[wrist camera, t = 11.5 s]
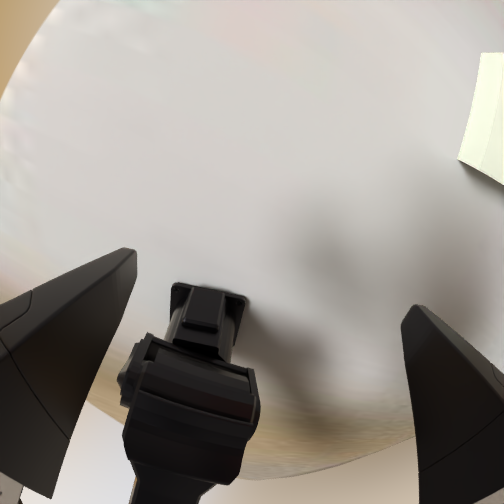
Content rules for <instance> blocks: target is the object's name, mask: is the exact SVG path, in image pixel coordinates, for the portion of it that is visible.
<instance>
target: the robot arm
mask: <svg viewBox="0 0 504 504" xmlns="http://www.w3.org/2000/svg"><path fill="white" fill-rule="evenodd" d="M136 278H137V252H136V251H135V250H134V249H129V248H125V247H124V248H121V249H118V250H116V251H114V252H111V253H109V254H107V255H105V256H102V257H100V258H98V259H96V260H93V261H91V262H89V263H87V264H85V265H82V266H80V267H78V268H76V269H74V270H71V271H69V272H67V273H65V274H63V275H61V276H59V277H57V278H54V279H52V280H50V281H48V282H46V283H44V284H42V285H40V286H38V287H36V288H34V289H33V291H32V290H30V291H28V292H26V293H24V294H22V295H20V296H18V297H16V298H13V299H11V300H9V301H7V302H5V303H3V304H1V305H0V504H23V503H22V501H21V499H20V496H21V493H22V490H23V487H24V486H25V487H27V488H29V489H31V490H33V491H35V492H37V493H39V494H41V495H43V496H45V497H47V498H49V499H52V496H53V493H54V489H55V486H56V482H57V479H58V476H59V473H60V469H61V466H62V463H63V460H64V457H65V454H66V451H67V448H68V445H69V443H70V439H71V436H72V434H73V431H74V428H75V426H76V423H77V420H78V418H79V415H80V413H81V410H82V407H83V405H84V402H85V400H86V398H87V395H88V393H89V390H90V388H91V386H92V383H93V381H94V379H95V376H96V374H97V372H98V369H99V367H100V365H101V363H102V360H103V358H104V356H105V354H106V352H107V349H108V347H109V345H110V343H111V341H112V339H113V337H114V335H115V333H116V330H117V328H118V326H119V324H120V322H121V319H122V317H123V314H124V311H125V308H126V306H127V303H128V300H129V298H130V295H131V292H132V289H133V287H134V284H135V282H136ZM176 288H178V289H179V290H178V289H176ZM238 301H241V302H238ZM244 307H245V298H244V297H243V296H240V295H234V294H229V293H224V292H219V291H215V290H210V289H205V288H200V287H195V286H191V285H186V284H182V283H174V284H173V285H172V287H171V301H170V324H169V326H168V329H167V332H166V335H165V338H164V340H162V339H160V338H157V337H154V335H153V334H150V333H148V332H147V334H146V336H145V338H144V339H141V341H140V343H135V345H134V347H133V350H132V352H131V354H130V357H129V359H128V360H127V362H126V363H125V365H124V366H123V368H122V369H121V371H120V372H119V374H118V377H117V382H118V384H119V386H120V388H121V392H120V395H121V396H122V397H121V401H120V405H121V406H124V407H126V408H128V409H129V412H128V415H127V419H126V422H125V426H124V429H123V433H122V438H123V441H124V448H125V452H126V455H127V458H128V460H130V462H131V465H132V467H133V470H134V472H135V475H136V477H135V481H134V485H133V489H132V492H131V496H130V500H129V504H198V503H199V500H200V498H201V496H202V495H203V494H205V493H206V492H207V491H209V489H211V488H213V487H214V486H215V485H216V484H221V485H230V484H231V483H232V481H233V480H234V479H235V478H236V477H237V476H238V475H239V472H240V468H241V463H242V458H243V454H244V450H245V447H246V444H247V441H249V440H250V439H251V437H252V436H253V434H254V432H255V430H256V428H257V425H258V421H259V417H260V407H261V406H260V399H259V394H258V389H257V383H256V378H255V373H254V369H251V368H248V367H247V368H244V367H240V366H237V365H234V364H231V363H230V362H231V354H232V347H233V346H234V345H235V341H236V337H237V333H238V330H239V326H240V322H241V318H242V314H243V311H244ZM401 334H402V342H403V351H404V361H405V368H406V374H407V379H408V385H409V391H410V397H411V404H412V411H413V418H414V426H415V435H416V445H417V456H418V471H419V473H418V476H419V504H504V374H503V373H502V372H501V371H500V370H498V369H497V368H496V367H495V366H494V365H493V364H492V363H490V361H489V360H487V359H486V358H485V357H484V356H483V355H482V354H481V353H480V352H479V351H477V350H476V349H475V348H474V347H473V346H472V345H471V344H469V343H468V342H467V341H466V340H465V339H464V338H462V337H461V336H460V335H459V334H458V333H457V332H455V331H454V330H453V329H452V328H451V327H450V326H448V325H447V324H446V323H445V322H444V321H442V320H441V319H440V318H439V317H437V316H436V315H435V314H434V313H433V312H431V311H430V310H429V309H428V308H426V307H425V306H423V305H417V304H415V305H413V306H412V307H411V308H410V310H409V311H408V313H407V315H406V316H405V318H404V319H403V321H402V323H401Z"/></svg>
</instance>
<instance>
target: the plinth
mask: <svg viewBox="0 0 504 504" xmlns="http://www.w3.org/2000/svg"><path fill="white" fill-rule="evenodd" d="M457 159H458V160H460V161H462V162H464V163H466V164H468V165H470V166H471V167H473V168H475V169H477V170H479V171H480V172H482V173H484V174H486V175H487V176H489V177H491V178H492V179H494V180H496V181H497V182H499V183H500V184H502V185H504V53H481V58H480V65H479V72H478V78H477V83H476V88H475V93H474V98H473V103H472V107H471V112H470V116H469V120H468V124H467V128H466V131H465V135H464V139H463V142H462V145H461V149H460V152H459V155H458V158H457Z"/></svg>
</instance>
